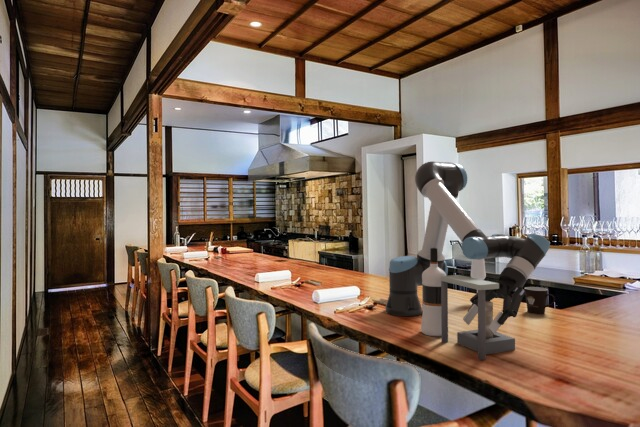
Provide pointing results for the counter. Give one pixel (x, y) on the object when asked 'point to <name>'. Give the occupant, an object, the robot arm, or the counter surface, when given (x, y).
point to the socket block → (492, 345)
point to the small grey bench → (481, 287)
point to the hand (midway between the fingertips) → (477, 326)
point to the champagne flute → (478, 269)
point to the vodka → (432, 297)
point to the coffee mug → (537, 299)
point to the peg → (488, 318)
